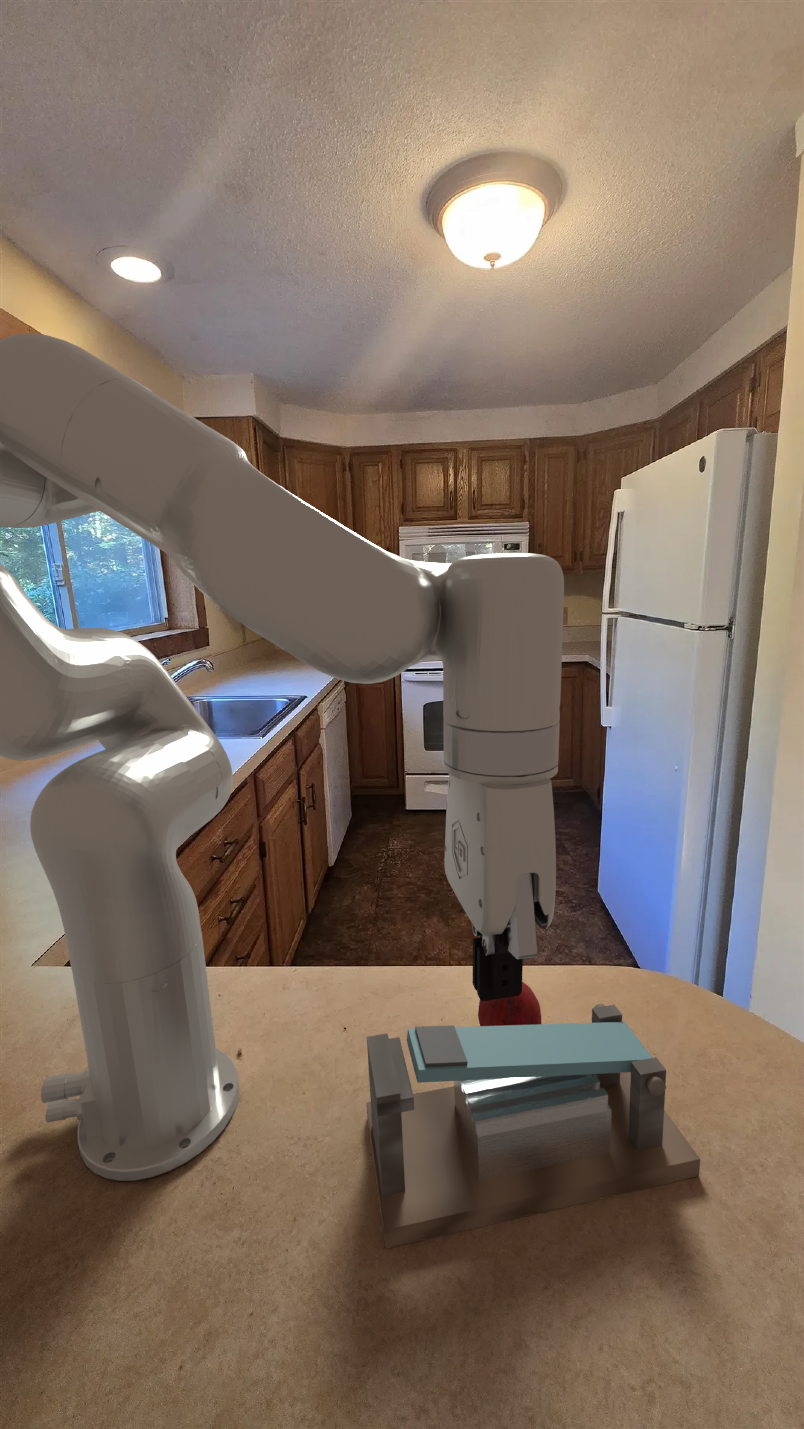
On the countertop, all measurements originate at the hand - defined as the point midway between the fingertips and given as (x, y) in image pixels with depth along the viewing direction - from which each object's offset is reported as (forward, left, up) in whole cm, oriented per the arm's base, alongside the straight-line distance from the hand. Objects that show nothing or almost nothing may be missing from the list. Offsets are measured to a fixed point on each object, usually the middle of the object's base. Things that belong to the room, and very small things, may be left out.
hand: (496, 990), depth 42 cm
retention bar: (+2, 0, -6) cm, 6 cm away
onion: (+4, +9, -14) cm, 17 cm away
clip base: (+2, 0, -14) cm, 14 cm away
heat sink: (+2, 0, -12) cm, 12 cm away
